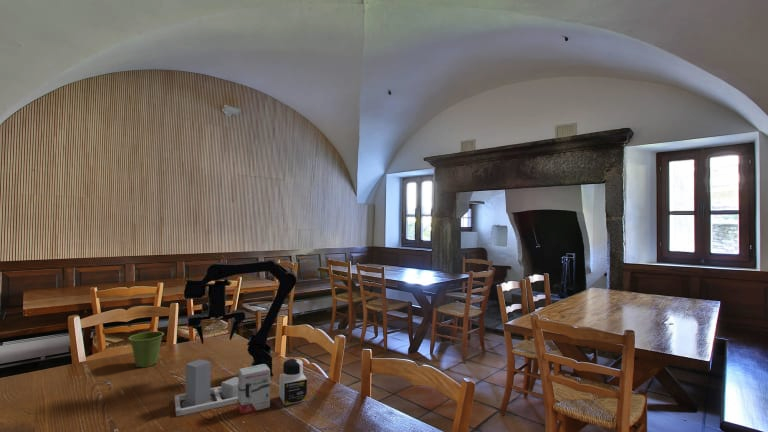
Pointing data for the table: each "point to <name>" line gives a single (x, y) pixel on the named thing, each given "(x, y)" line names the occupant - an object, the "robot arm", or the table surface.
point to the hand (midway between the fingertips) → (216, 341)
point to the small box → (229, 388)
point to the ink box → (253, 388)
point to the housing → (206, 406)
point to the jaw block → (198, 382)
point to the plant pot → (146, 348)
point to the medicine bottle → (292, 382)
